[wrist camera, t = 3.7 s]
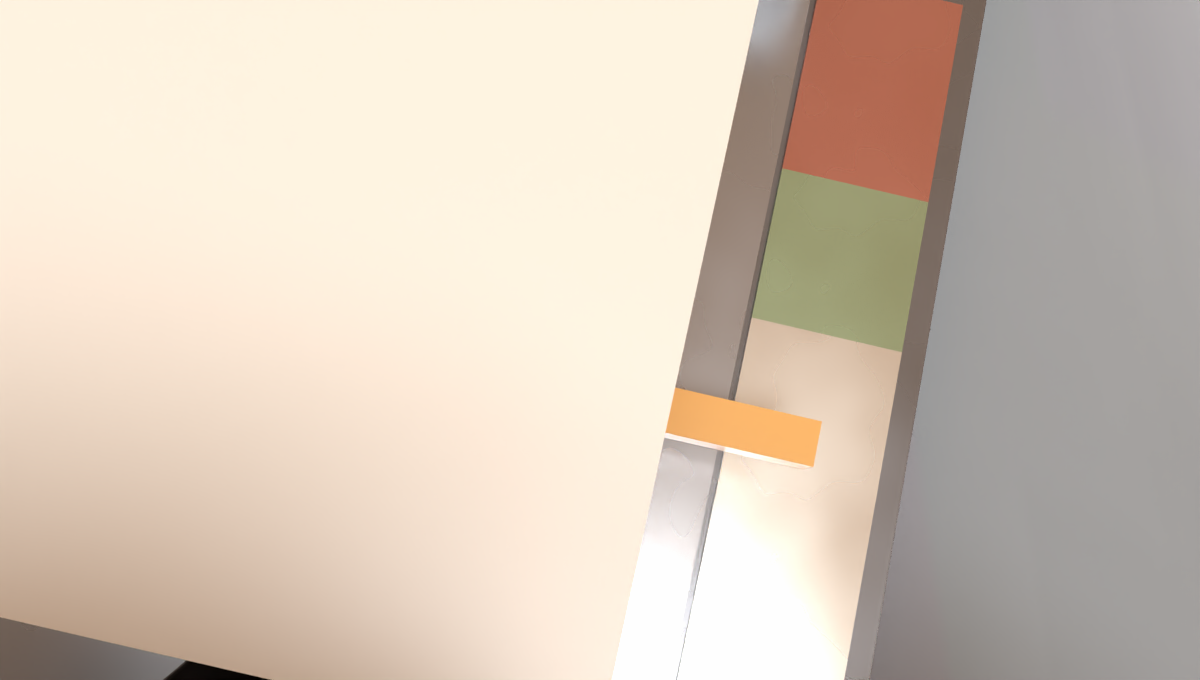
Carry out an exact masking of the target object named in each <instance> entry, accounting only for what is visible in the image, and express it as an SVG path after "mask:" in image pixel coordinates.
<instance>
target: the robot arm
mask: <svg viewBox="0 0 1200 680" xmlns="http://www.w3.org/2000/svg"><path fill="white" fill-rule="evenodd" d="M163 680H270V679H265V678H261V677H257V676H252V675H248V674H244V673H239V672H235V671H231V670H226V669H222V668H218V667H214V666H209V665H205V664H201V663H196V662H192V661H188V660H186V661H185V662H183V663H182V664H181V665H180V666H179V667H177V668H176V669H175V670H174V671H173V672H172V673H170V674H169V675H168V676H167V677H166V678H164V679H163Z"/></svg>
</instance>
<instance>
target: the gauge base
mask: <svg viewBox="0 0 1200 680" xmlns="http://www.w3.org/2000/svg"><path fill="white" fill-rule="evenodd" d="M985 6H986V0H759V1H758V6H757V11H756V15H755V20H754V24H753V29H752V34H751V38H750V43H749V48H748V52H747V57H746V62H745V66H744V71H743V75H742V80H741V85H740V89H739V94H738V99H737V103H736V108H735V113H734V117H733V122H732V126H731V131H730V136H729V140H728V145H727V150H726V154H725V159H724V163H723V168H722V173H721V177H720V182H719V187H718V191H717V196H716V201H715V205H714V210H713V214H712V219H711V224H710V228H709V233H708V238H707V242H706V247H705V252H704V256H703V261H702V265H701V270H700V275H699V279H698V284H697V289H696V293H695V298H694V302H693V307H692V312H691V316H690V321H689V326H688V330H687V335H686V340H685V344H684V349H683V353H682V358H681V363H680V367H679V372H678V377H677V381H676V386H675V387H676V388H680V389H684V390H689V391H693V392H697V393H702V394H706V395H710V396H714V397H719V398H723V399H727V400H732V401H736V402H740V403H745V404H749V405H753V406H758V407H762V408H766V409H771V410H775V411H779V412H784V413H788V414H792V415H797V416H801V417H805V418H810V419H814V420H818V421H822V424H821V429H820V434H819V440H818V445H817V450H816V456H815V461H814V466H813V467H811V468H807V469H798V468H794V467H790V466H785V465H781V464H777V463H772V462H768V461H764V460H759V459H755V458H751V457H746V456H742V455H738V454H734V453H729V452H725V451H721V450H716V449H712V448H708V447H703V446H699V445H695V444H690V443H686V442H682V441H677V440H673V439H669V438H664V441H663V446H662V451H661V455H660V460H659V465H658V469H657V474H656V479H655V483H654V488H653V492H652V497H651V502H650V506H649V511H648V516H647V520H646V525H645V529H644V534H643V539H642V543H641V548H640V553H639V557H638V562H637V567H636V571H635V576H634V580H633V585H632V590H631V594H630V599H629V604H628V608H627V613H626V618H625V622H624V627H623V631H622V636H621V641H620V645H619V650H618V655H617V659H616V664H615V668H614V673H613V678H612V680H870V674H871V668H872V663H873V657H874V651H875V645H876V639H877V634H878V628H879V622H880V616H881V610H882V604H883V599H884V593H885V587H886V581H887V575H888V570H889V564H890V558H891V552H892V546H893V541H894V535H895V529H896V523H897V517H898V511H899V506H900V500H901V494H902V488H903V482H904V477H905V471H906V465H907V459H908V453H909V448H910V442H911V436H912V430H913V424H914V418H915V413H916V407H917V401H918V395H919V389H920V384H921V378H922V372H923V366H924V360H925V355H926V349H927V343H928V337H929V331H930V325H931V320H932V314H933V308H934V302H935V296H936V291H937V285H938V279H939V273H940V267H941V262H942V256H943V250H944V244H945V238H946V232H947V227H948V221H949V215H950V209H951V203H952V198H953V192H954V186H955V180H956V174H957V168H958V163H959V157H960V151H961V145H962V139H963V134H964V128H965V122H966V116H967V110H968V105H969V99H970V93H971V87H972V81H973V75H974V70H975V64H976V58H977V52H978V46H979V41H980V35H981V29H982V23H983V17H984V12H985ZM185 661H186V660H183V659H179V658H175V657H170V656H166V655H162V654H157V653H153V652H149V651H144V650H140V649H136V648H131V647H127V646H123V645H118V644H114V643H110V642H105V641H101V640H97V639H92V638H88V637H84V636H79V635H75V634H71V633H66V632H62V631H58V630H53V629H49V628H45V627H40V626H36V625H32V624H27V623H23V622H19V621H14V620H10V619H6V618H1V617H0V680H163V679H164V678H166V677H167V676H168V675H169V674H170V673H172V672H173V671H174V670H175V669H176V668H177V667H179V666H180V665H181V664H182V663H183V662H185Z"/></svg>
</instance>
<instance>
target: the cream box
mask: <svg viewBox="0 0 1200 680" xmlns="http://www.w3.org/2000/svg"><path fill="white" fill-rule="evenodd" d="M758 1H759V0H0V617H1V618H6V619H10V620H14V621H19V622H23V623H27V624H32V625H36V626H40V627H45V628H49V629H53V630H58V631H62V632H66V633H71V634H75V635H79V636H84V637H88V638H92V639H97V640H101V641H105V642H110V643H114V644H118V645H123V646H127V647H131V648H136V649H140V650H144V651H149V652H153V653H157V654H162V655H166V656H170V657H175V658H179V659H183V660H188V661H192V662H196V663H201V664H205V665H209V666H214V667H218V668H222V669H226V670H231V671H235V672H239V673H244V674H248V675H252V676H257V677H261V678H265V679H270V680H612V678H613V673H614V668H615V664H616V659H617V655H618V650H619V645H620V641H621V636H622V631H623V627H624V622H625V618H626V613H627V608H628V604H629V599H630V594H631V590H632V585H633V580H634V576H635V571H636V567H637V562H638V557H639V553H640V548H641V543H642V539H643V534H644V529H645V525H646V520H647V516H648V511H649V506H650V502H651V497H652V492H653V488H654V483H655V479H656V474H657V469H658V465H659V460H660V455H661V451H662V446H663V441H664V438H669V439H673V440H677V441H682V442H686V443H690V444H695V445H699V446H703V447H708V448H712V449H716V450H721V451H725V452H729V453H734V454H738V455H742V456H746V457H751V458H755V459H759V460H764V461H768V462H772V463H777V464H781V465H785V466H790V467H794V468H798V469H807V468H811V467H813V466H814V461H815V456H816V450H817V445H818V440H819V434H820V429H821V424H822V421H818V420H814V419H810V418H805V417H801V416H797V415H792V414H788V413H784V412H779V411H775V410H771V409H766V408H762V407H758V406H753V405H749V404H745V403H740V402H736V401H732V400H727V399H723V398H719V397H714V396H710V395H706V394H702V393H697V392H693V391H689V390H684V389H680V388H676V387H675V386H676V381H677V377H678V372H679V367H680V363H681V358H682V353H683V349H684V344H685V340H686V335H687V330H688V326H689V321H690V316H691V312H692V307H693V302H694V298H695V293H696V289H697V284H698V279H699V275H700V270H701V265H702V261H703V256H704V252H705V247H706V242H707V238H708V233H709V228H710V224H711V219H712V214H713V210H714V205H715V201H716V196H717V191H718V187H719V182H720V177H721V173H722V168H723V163H724V159H725V154H726V150H727V145H728V140H729V136H730V131H731V126H732V122H733V117H734V113H735V108H736V103H737V99H738V94H739V89H740V85H741V80H742V75H743V71H744V66H745V62H746V57H747V52H748V48H749V43H750V38H751V34H752V29H753V24H754V20H755V15H756V11H757V6H758Z"/></svg>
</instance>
